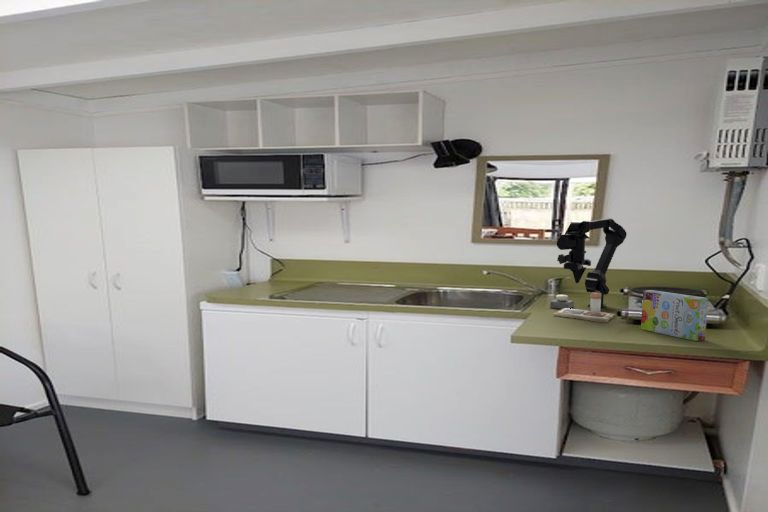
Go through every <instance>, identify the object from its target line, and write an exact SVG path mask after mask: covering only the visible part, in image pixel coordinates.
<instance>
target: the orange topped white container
mask: <svg viewBox="0 0 768 512" xmlns="http://www.w3.org/2000/svg"><path fill="white" fill-rule="evenodd" d="M590 300H591V302H590V303H589V304H590V306H589V307H590V309H589V311H590V314H591V315H600V312H602V311H601V293H598V292H590Z"/></svg>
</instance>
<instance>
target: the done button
mask: <svg viewBox="0 0 768 512" xmlns="http://www.w3.org/2000/svg"><path fill="white" fill-rule="evenodd" d="M555 299H556V300H559V301H561V302H564V301H567V300H569V296H568V295H567V294H556V298H555Z"/></svg>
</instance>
